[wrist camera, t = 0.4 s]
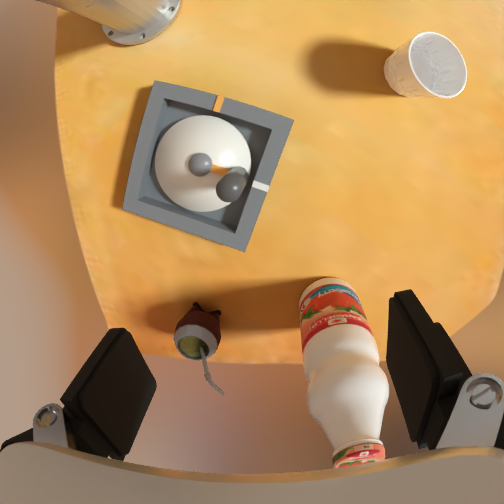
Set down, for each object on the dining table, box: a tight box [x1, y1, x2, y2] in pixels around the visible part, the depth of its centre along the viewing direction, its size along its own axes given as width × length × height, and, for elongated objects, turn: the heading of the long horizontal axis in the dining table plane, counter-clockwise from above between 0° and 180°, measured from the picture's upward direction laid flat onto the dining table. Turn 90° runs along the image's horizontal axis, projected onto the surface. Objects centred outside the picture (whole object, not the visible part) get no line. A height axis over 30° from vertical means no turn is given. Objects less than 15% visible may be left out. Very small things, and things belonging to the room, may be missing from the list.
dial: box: [155, 115, 252, 212], centre depth 34 cm, size 13×13×9 cm
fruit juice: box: [299, 277, 389, 468], centre depth 34 cm, size 9×9×28 cm
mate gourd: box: [174, 302, 224, 395], centre depth 42 cm, size 8×8×15 cm
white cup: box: [383, 32, 467, 98], centre depth 27 cm, size 8×8×10 cm
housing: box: [122, 81, 294, 252], centre depth 37 cm, size 18×18×4 cm
